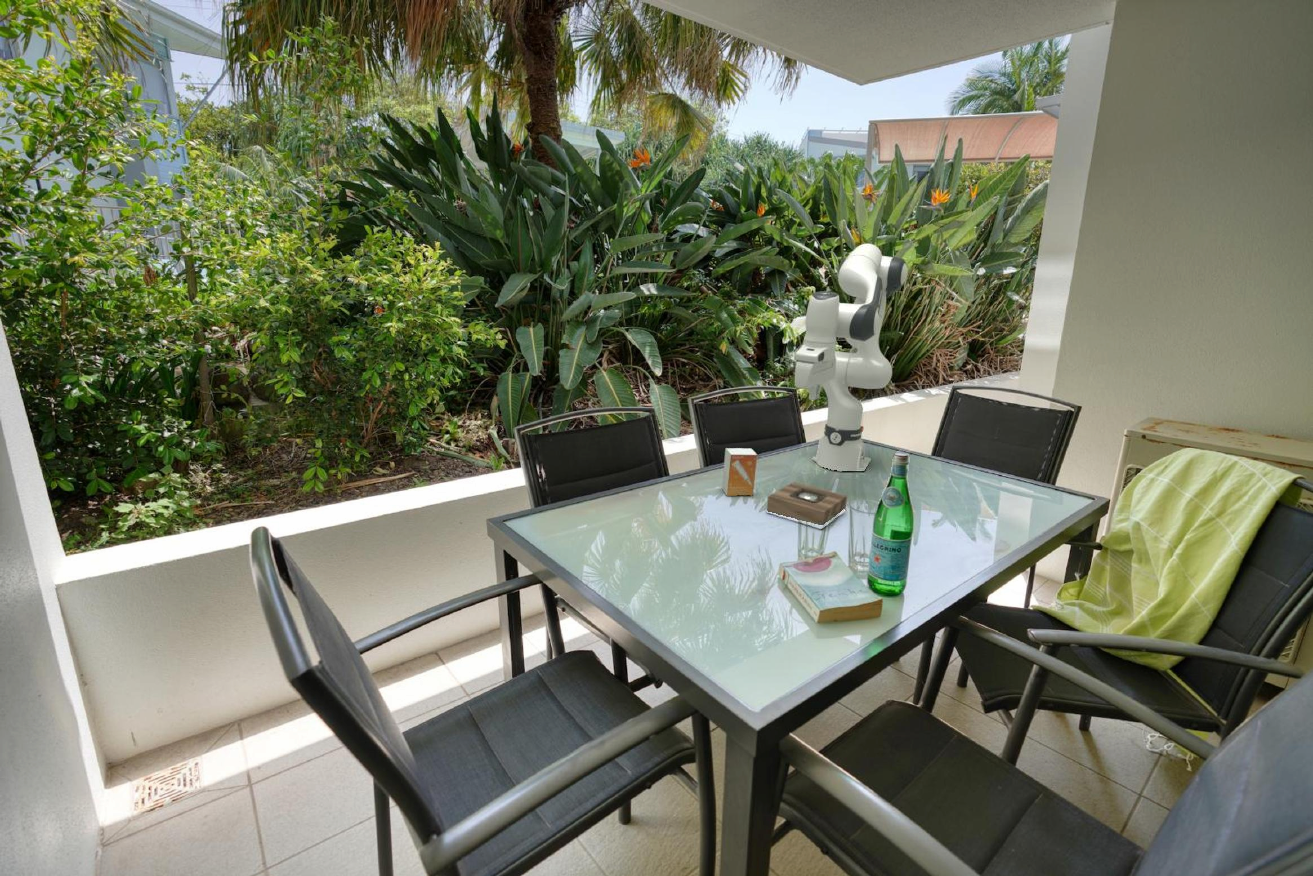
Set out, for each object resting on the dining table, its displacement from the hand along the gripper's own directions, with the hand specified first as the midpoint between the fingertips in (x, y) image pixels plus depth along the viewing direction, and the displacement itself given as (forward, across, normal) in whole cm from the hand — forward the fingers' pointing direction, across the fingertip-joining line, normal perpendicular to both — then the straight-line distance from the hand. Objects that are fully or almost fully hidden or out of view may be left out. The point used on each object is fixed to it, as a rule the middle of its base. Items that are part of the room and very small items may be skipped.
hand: (813, 399), depth 177 cm
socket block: (+29, +14, +7) cm, 33 cm away
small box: (+29, +14, -15) cm, 35 cm away
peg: (+29, +14, +7) cm, 33 cm away
